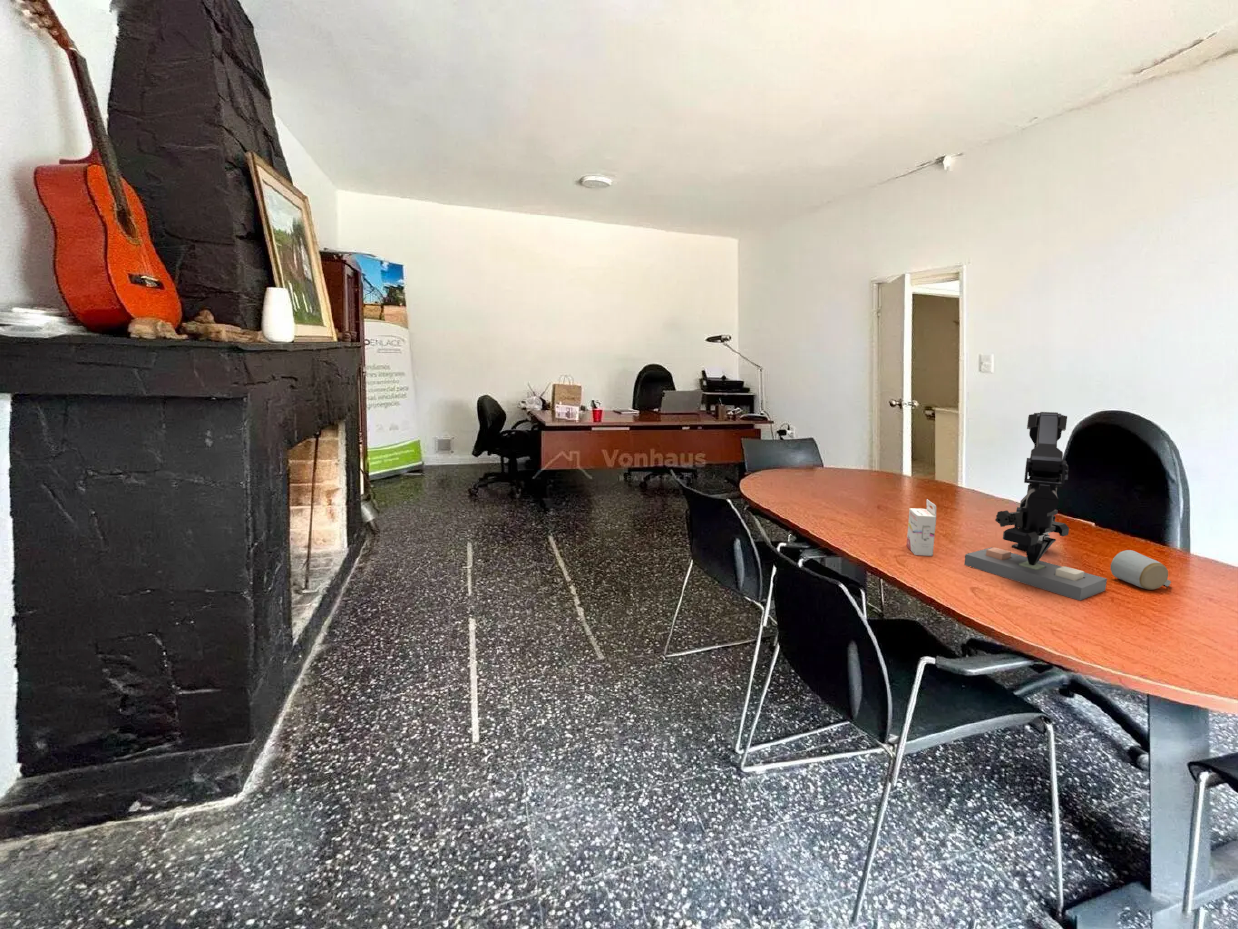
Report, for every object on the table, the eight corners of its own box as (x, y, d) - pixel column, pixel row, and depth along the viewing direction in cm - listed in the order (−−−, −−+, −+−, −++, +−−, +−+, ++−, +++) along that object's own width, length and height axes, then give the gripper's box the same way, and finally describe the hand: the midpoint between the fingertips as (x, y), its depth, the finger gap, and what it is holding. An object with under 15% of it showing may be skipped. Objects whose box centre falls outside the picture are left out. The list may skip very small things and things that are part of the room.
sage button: (1026, 570, 142) (1027, 561, 141) (1043, 575, 138) (1045, 565, 138) (1017, 572, 140) (1018, 563, 140) (1035, 578, 137) (1036, 568, 136)
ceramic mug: (1139, 592, 130) (1145, 561, 129) (1107, 578, 138) (1112, 549, 137) (1181, 591, 131) (1187, 560, 129) (1146, 578, 139) (1152, 549, 137)
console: (990, 557, 153) (991, 547, 153) (1105, 590, 131) (1107, 578, 130) (964, 564, 148) (965, 554, 147) (1079, 600, 125) (1081, 588, 125)
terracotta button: (994, 556, 149) (995, 547, 148) (1010, 560, 145) (1011, 551, 145) (985, 558, 147) (986, 549, 146) (1001, 563, 143) (1002, 554, 143)
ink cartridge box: (905, 545, 164) (909, 497, 161) (923, 546, 163) (927, 498, 160) (914, 555, 156) (919, 504, 153) (933, 556, 155) (938, 505, 152)
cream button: (1063, 575, 135) (1064, 566, 134) (1082, 581, 131) (1084, 571, 131) (1054, 578, 133) (1056, 569, 132) (1074, 584, 129) (1075, 574, 129)
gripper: (1024, 494, 147) (1017, 549, 150) (984, 502, 139) (977, 561, 142) (1073, 502, 138) (1065, 562, 140) (1033, 512, 129) (1025, 575, 132)
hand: (1031, 564), depth 139 cm, fingers closed, pressing on sage button
